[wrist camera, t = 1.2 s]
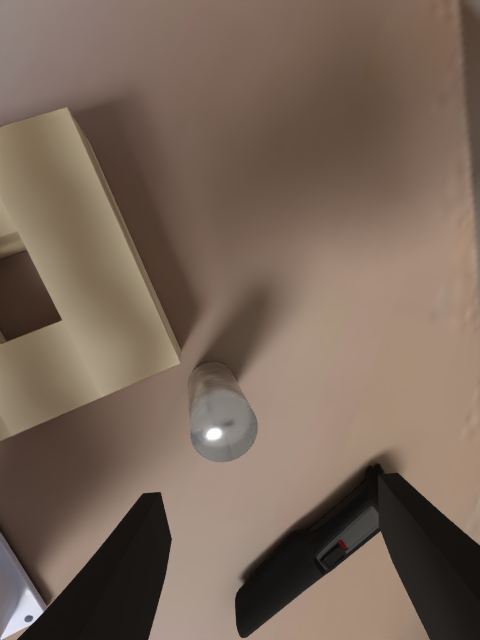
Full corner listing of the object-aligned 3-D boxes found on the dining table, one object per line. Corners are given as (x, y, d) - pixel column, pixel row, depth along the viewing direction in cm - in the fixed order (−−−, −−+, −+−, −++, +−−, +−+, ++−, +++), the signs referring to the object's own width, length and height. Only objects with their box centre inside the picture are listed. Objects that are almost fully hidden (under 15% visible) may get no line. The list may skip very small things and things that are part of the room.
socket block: (-31, 440, 18) (-81, 475, 15) (-165, 221, 16) (-260, 202, 12) (181, 350, 20) (180, 363, 17) (89, 142, 18) (66, 107, 14)
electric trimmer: (219, 577, 23) (224, 623, 20) (374, 456, 24) (401, 481, 21) (246, 607, 24) (255, 655, 21) (394, 488, 25) (423, 517, 22)
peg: (199, 412, 21) (206, 473, 14) (181, 372, 20) (179, 415, 13) (240, 393, 21) (267, 443, 14) (223, 353, 21) (243, 386, 14)
